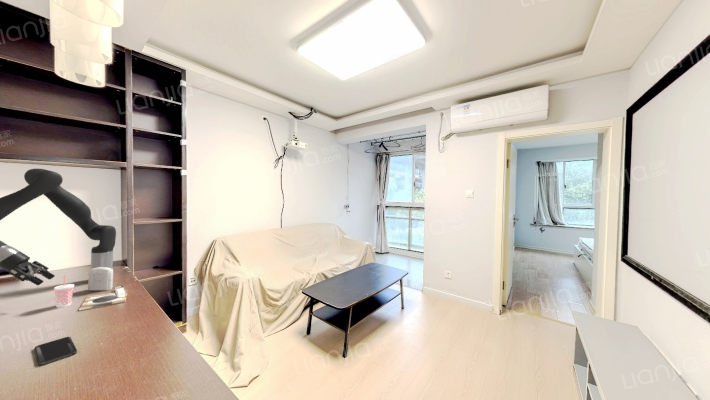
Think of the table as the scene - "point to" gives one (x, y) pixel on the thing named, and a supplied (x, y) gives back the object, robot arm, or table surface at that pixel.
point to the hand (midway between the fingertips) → (47, 280)
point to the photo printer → (100, 278)
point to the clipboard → (102, 301)
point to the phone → (55, 350)
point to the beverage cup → (63, 294)
